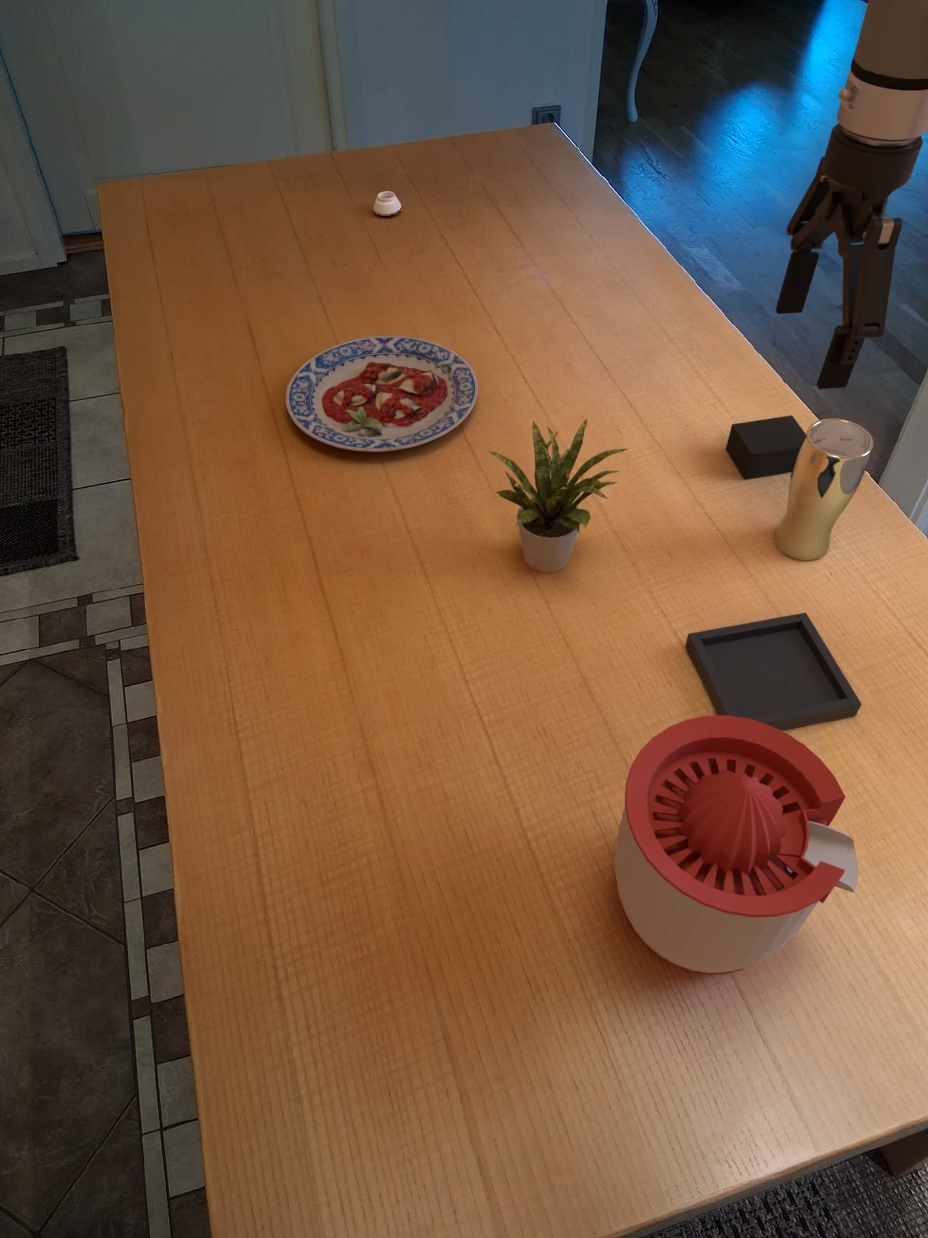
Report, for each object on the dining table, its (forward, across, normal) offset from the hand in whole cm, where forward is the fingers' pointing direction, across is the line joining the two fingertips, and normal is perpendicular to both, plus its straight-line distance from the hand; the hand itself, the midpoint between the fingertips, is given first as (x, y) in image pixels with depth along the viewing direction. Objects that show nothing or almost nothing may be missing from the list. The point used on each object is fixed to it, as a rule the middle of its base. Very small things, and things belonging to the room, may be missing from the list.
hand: (808, 347), depth 93 cm
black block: (+20, -6, +2) cm, 21 cm away
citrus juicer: (+20, +50, -20) cm, 57 cm away
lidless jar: (+21, -79, -44) cm, 93 cm away
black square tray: (+20, +27, -7) cm, 35 cm away
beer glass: (+20, +8, +2) cm, 22 cm away
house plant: (+21, +8, -26) cm, 34 cm away
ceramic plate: (+21, -23, -45) cm, 55 cm away
